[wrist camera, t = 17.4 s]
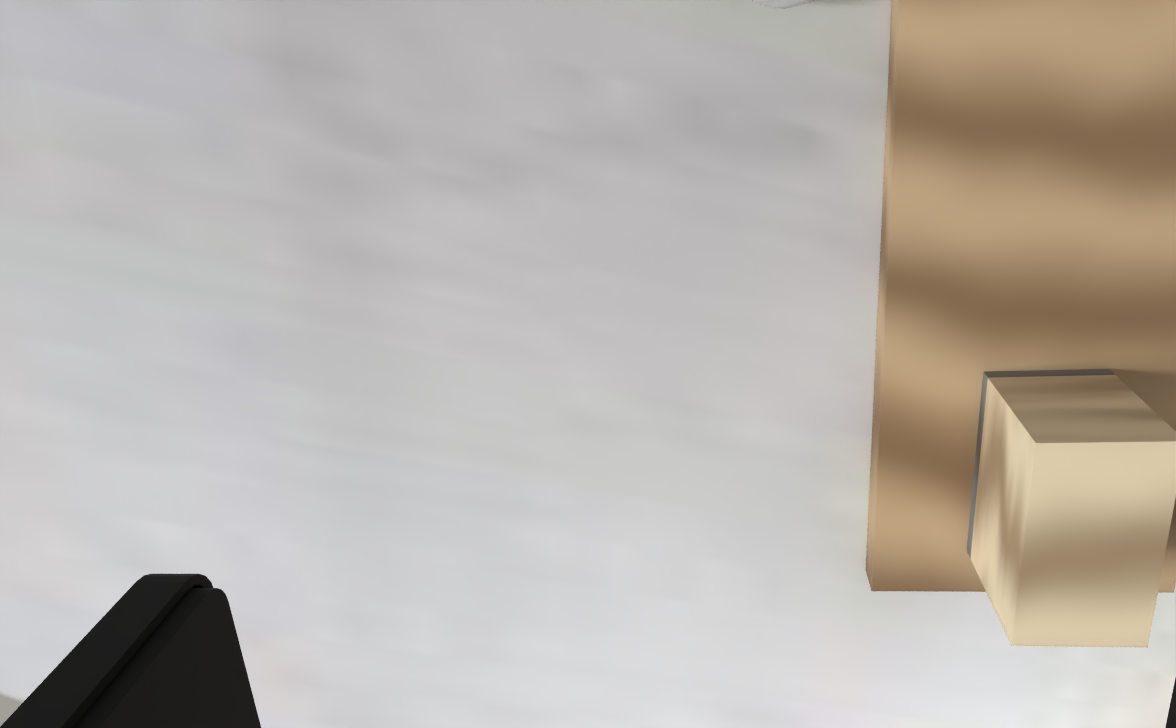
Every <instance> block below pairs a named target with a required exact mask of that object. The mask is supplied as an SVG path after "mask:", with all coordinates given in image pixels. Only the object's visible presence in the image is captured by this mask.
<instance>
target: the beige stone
mask: <svg viewBox="0 0 1176 728" xmlns="http://www.w3.org/2000/svg"><path fill="white" fill-rule="evenodd" d="M753 1H755V2H756V3H758V4H760V5H762V6H765V7H769V8H784V9H785V8H790V7H795V6H798V5H802V4H806V3H809V2H812V1H814V0H753Z"/></svg>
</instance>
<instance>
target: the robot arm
mask: <svg viewBox="0 0 1176 728" xmlns="http://www.w3.org/2000/svg"><path fill="white" fill-rule="evenodd" d="M0 728H261V726H260V722H259V718H258V714H257V710H256V706H255V703H254V699H253V695H252V691H251V687H250V683H249V679H248V676H247V672H246V668H245V664H244V660H243V656H242V652H241V649H240V645H239V641H238V637H237V633H236V629H235V625H234V622H233V618H232V614H231V610H230V606H229V602H228V599H227V597H226V594H225V593H224V592H223V591H222V590H221V589H218V588H213V586H212V583H211V582H210V580H209V579H208V578H207V577H206V576H204V575H201V574H149V575H145V576H143V577H142V578H140V579H139V580H138V581H137V582H136V583H135V584H134V585H133V586H132V587H131V588H130V589H129V590H128V591H127V592H126V593H125V594H124V595H123V596H122V598H121V599H120V600H119V601H118V602H117V603H116V604H115V605H114V606H113V607H112V608H111V609H110V610H109V611H108V612H107V614H106V615H105V616H104V617H103V618H102V619H101V620H100V621H99V622H98V623H97V624H96V625H95V626H94V627H93V628H92V630H91V631H90V632H89V633H88V634H87V635H86V636H85V637H84V638H83V639H82V640H81V641H80V642H79V643H78V644H77V646H76V647H75V648H74V649H73V650H72V651H71V652H70V653H69V654H68V655H67V656H66V657H65V658H64V659H63V661H62V662H61V663H60V664H59V665H58V666H57V667H56V668H55V669H54V670H53V671H52V672H51V673H50V674H49V675H48V677H47V678H46V679H45V680H44V681H43V682H42V683H41V684H40V685H39V686H38V687H37V688H36V689H35V690H34V691H33V693H32V694H31V695H30V696H29V697H28V698H27V699H26V700H25V701H24V702H23V703H22V704H21V705H20V706H19V707H18V709H17V710H16V711H15V712H14V713H13V714H12V715H11V716H10V717H9V718H8V719H7V720H6V721H5V722H4V723H3V725H2V726H1V727H0ZM1166 728H1176V679H1175V684H1174V689H1173V694H1172V698H1171V703H1170V708H1169V713H1168V718H1167V723H1166Z"/></svg>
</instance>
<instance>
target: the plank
mask: <svg viewBox="0 0 1176 728" xmlns="http://www.w3.org/2000/svg"><path fill="white" fill-rule="evenodd" d="M1072 369H1110V370H1111V371H1112V372H1113V373H1114V374H1115V375H1116V376H1117V377H1118V378H1119V379H1120V380H1121V381H1123V382H1124V383H1125V384H1126V385H1127V386H1128V387H1129V388H1130V389H1131V390H1132V391H1133V392H1134V393H1135V394H1136V395H1137V396H1138V397H1140V398H1141V399H1142V400H1143V401H1144V402H1145V403H1146V404H1147V405H1148V406H1149V407H1150V408H1151V409H1152V410H1153V411H1154V412H1156V413H1157V414H1158V415H1159V416H1160V417H1161V418H1162V419H1163V420H1164V421H1165V422H1166V423H1167V424H1168V425H1169V426H1170V427H1171V428H1173V429H1174V430H1175V431H1176V0H892V11H891V33H890V55H889V77H888V99H887V120H886V142H885V164H884V186H883V208H882V230H881V251H880V273H879V295H878V317H877V339H876V360H875V382H874V404H873V426H872V448H871V469H870V491H869V513H868V535H867V557H866V573H867V576H868V580H869V583H870V587H871V590H872V591H976V592H986V591H985V588H984V586H983V584H982V582H981V580H980V578H979V576H978V574H977V572H976V569H975V567H974V565H973V563H972V561H971V559H970V557H969V555H968V553H967V540H968V529H969V519H970V508H971V497H972V487H973V476H974V465H975V455H976V444H977V433H978V423H979V412H980V401H981V391H982V380H983V372H985V371H1029V370H1072ZM1175 583H1176V498H1175V503H1174V509H1173V514H1172V519H1171V525H1170V530H1169V535H1168V541H1167V546H1166V551H1165V557H1164V562H1163V567H1162V573H1161V578H1160V583H1159V589H1158V592H1173V593H1174V589H1175Z"/></svg>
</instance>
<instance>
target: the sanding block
mask: <svg viewBox="0 0 1176 728" xmlns="http://www.w3.org/2000/svg"><path fill="white" fill-rule="evenodd" d="M1175 498H1176V431H1175V430H1174V429H1173V428H1171V427H1170V426H1169V425H1168V424H1167V423H1166V422H1165V421H1164V420H1163V419H1162V418H1161V417H1160V416H1159V415H1158V414H1157V413H1156V412H1154V411H1153V410H1152V409H1151V408H1150V407H1149V406H1148V405H1147V404H1146V403H1145V402H1144V401H1143V400H1142V399H1141V398H1140V397H1138V396H1137V395H1136V394H1135V393H1134V392H1133V391H1132V390H1131V389H1130V388H1129V387H1128V386H1127V385H1126V384H1125V383H1124V382H1123V381H1121V380H1120V379H1119V378H1118V377H1117V376H1116V375H1115V374H1114V373H1113V372H1112V371H1111V370H1110V369H1072V370H1029V371H985V372H983V380H982V391H981V401H980V412H979V423H978V433H977V444H976V455H975V465H974V476H973V487H972V497H971V508H970V519H969V529H968V540H967V553H968V555H969V557H970V559H971V561H972V563H973V565H974V567H975V569H976V572H977V574H978V576H979V578H980V580H981V582H982V584H983V586H984V588H985V591H986V593H987V595H988V597H989V599H990V601H991V603H992V605H993V608H994V610H995V612H996V614H997V616H998V618H999V620H1000V622H1001V624H1002V627H1003V629H1004V631H1005V633H1006V635H1007V637H1008V639H1009V641H1010V644H1011V646H1074V647H1148V642H1149V637H1150V632H1151V626H1152V621H1153V616H1154V610H1155V605H1156V599H1157V594H1158V589H1159V583H1160V578H1161V573H1162V567H1163V562H1164V557H1165V551H1166V546H1167V541H1168V535H1169V530H1170V525H1171V519H1172V514H1173V509H1174V503H1175Z"/></svg>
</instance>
